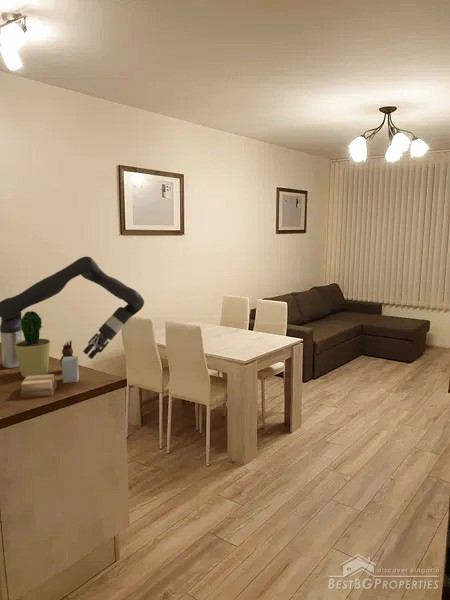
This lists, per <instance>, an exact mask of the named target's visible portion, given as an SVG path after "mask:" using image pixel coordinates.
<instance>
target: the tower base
mask: <svg viewBox="0 0 450 600" xmlns="http://www.w3.org/2000/svg"><path fill="white" fill-rule="evenodd" d="M57 386H58V380H57V379H55V381H54V383H53V386H52V388H51V389H50V390H36V391H22V389H21V390H20V392H19V396H20V398H34V397H38V398H39V397H48V396H49V397H50V396H53V395H54V393H55V390H56V388H57Z"/></svg>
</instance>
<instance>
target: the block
mask: <svg viewBox="0 0 450 600" xmlns="http://www.w3.org/2000/svg"><path fill="white" fill-rule="evenodd" d="M78 357H79V356H78V355H77V356H74V355H73V357H63V359H62V367H61V373H62V384H65V383H67V384H68V383H77V382H78V381H79V378H80V373H79V372H80V371H79V370H80V369H79V358H78Z"/></svg>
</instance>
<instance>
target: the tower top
mask: <svg viewBox="0 0 450 600" xmlns="http://www.w3.org/2000/svg"><path fill="white" fill-rule="evenodd" d="M55 380H56V379H55V374H54V373H46V374H44V375H28V376H26V377H25V378H24V379H23V381H22V383H21V390H22V391H36V390H50V389H51V388H52V386H53V383H54V381H55Z"/></svg>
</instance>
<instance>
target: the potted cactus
mask: <svg viewBox="0 0 450 600" xmlns="http://www.w3.org/2000/svg"><path fill="white" fill-rule="evenodd" d="M21 318H22V321H21V328H20V329H21V335H22V336H23V337H22V338H23V339H22V341H19V342H16V343H15V344H14V345H15V350H16V354H17V358H18V362H19V371H20V375H21V376H22V377H25V378H26V376H28V375H44V374H48V371H49V359H50V352H51V351H50V349H51V339H49V338H48V339H47V338H40V332H41V329H42V328H43V326H42V319H43V317H42V316H40V314H39V313H37V311H34V310H28V311H25V313H24V314H23V315H22V316H21ZM19 324H20V323H19Z"/></svg>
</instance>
